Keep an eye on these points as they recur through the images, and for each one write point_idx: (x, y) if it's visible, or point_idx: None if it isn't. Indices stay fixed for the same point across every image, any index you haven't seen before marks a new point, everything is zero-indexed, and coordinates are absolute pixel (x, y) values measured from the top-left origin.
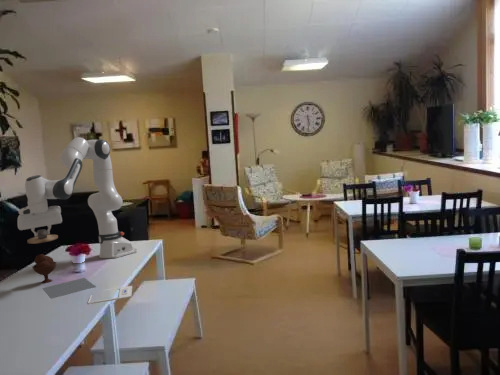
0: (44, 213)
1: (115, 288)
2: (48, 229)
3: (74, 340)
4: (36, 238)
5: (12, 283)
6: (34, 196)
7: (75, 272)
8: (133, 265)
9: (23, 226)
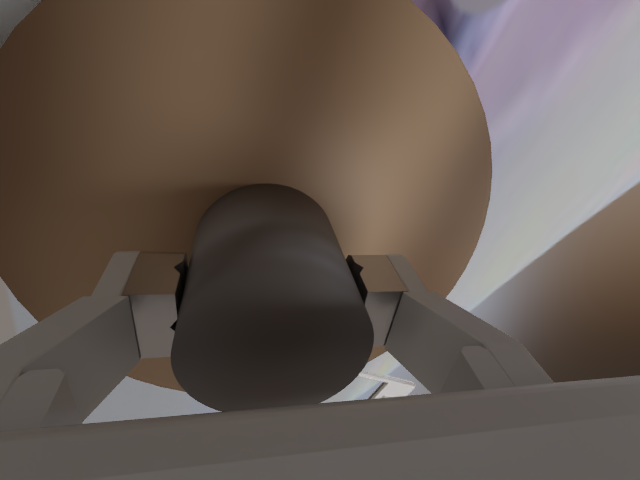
0: None
1: (378, 379)
2: (410, 358)
3: None
4: (168, 176)
5: None
6: None
7: (436, 19)
8: (601, 192)
9: None
